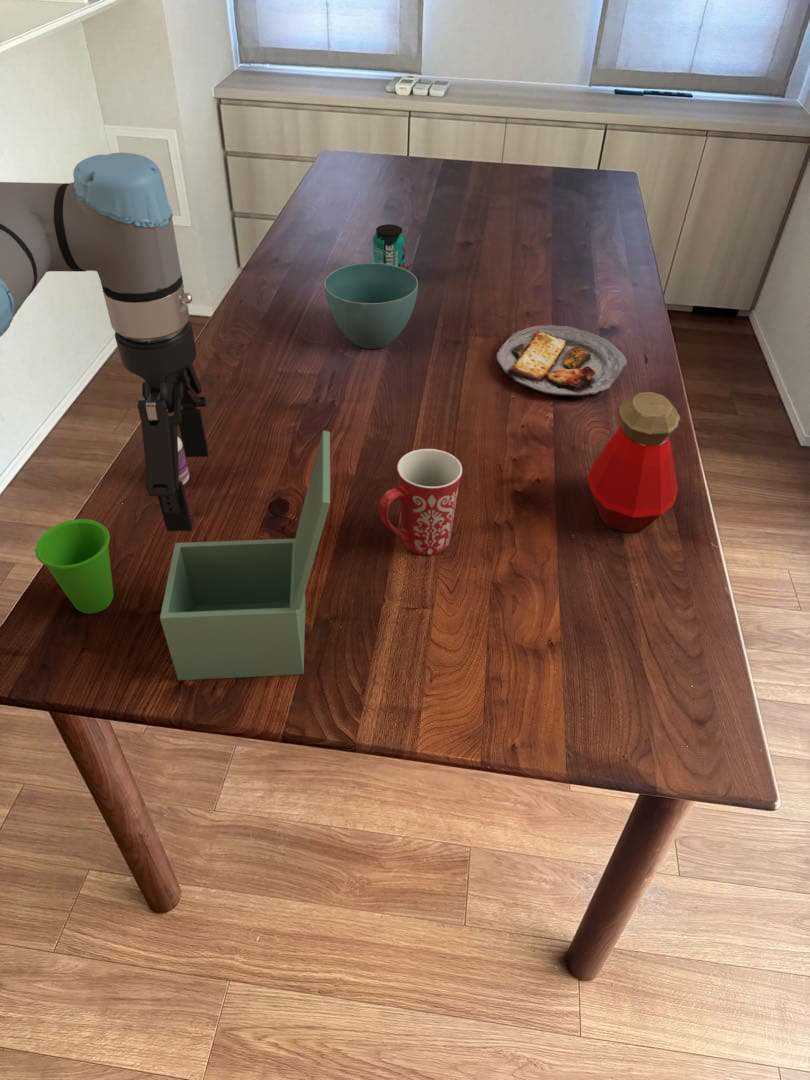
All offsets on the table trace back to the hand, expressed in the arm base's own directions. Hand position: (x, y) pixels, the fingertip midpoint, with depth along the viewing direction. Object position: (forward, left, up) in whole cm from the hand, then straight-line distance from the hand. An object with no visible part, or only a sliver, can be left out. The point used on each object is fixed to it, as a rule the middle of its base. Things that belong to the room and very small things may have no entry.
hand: (189, 490), depth 93 cm
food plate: (+60, +59, -21) cm, 87 cm away
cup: (-17, +2, -21) cm, 27 cm away
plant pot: (+24, +72, -21) cm, 79 cm away
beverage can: (+29, +98, -21) cm, 105 cm away
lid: (+14, -6, 0) cm, 15 cm away
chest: (+4, -6, -21) cm, 22 cm away
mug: (+28, +11, -21) cm, 37 cm away
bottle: (+61, +16, -21) cm, 67 cm away
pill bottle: (-10, +28, -21) cm, 37 cm away
